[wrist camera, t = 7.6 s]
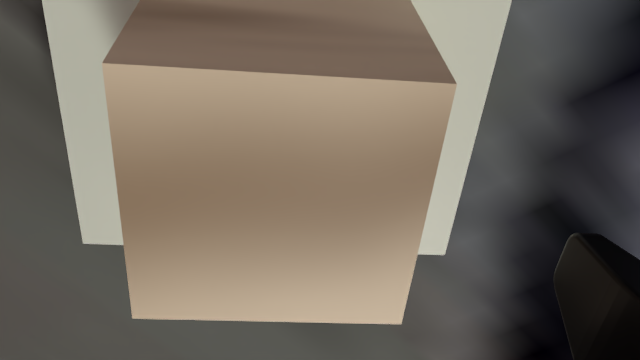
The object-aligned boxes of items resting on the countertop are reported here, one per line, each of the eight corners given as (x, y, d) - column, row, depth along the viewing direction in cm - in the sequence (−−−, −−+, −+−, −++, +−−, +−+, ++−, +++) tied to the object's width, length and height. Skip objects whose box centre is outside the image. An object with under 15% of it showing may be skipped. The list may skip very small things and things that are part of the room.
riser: (424, 193, 20) (444, 254, 17) (109, 180, 19) (82, 243, 16) (501, -154, 14) (547, -137, 12) (60, -196, 13) (10, -187, 11)
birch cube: (369, 178, 16) (401, 324, 12) (172, 169, 15) (132, 318, 11) (400, -18, 13) (457, 83, 9) (161, -35, 12) (101, 62, 8)
